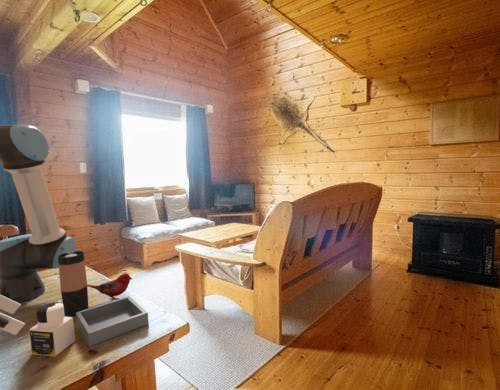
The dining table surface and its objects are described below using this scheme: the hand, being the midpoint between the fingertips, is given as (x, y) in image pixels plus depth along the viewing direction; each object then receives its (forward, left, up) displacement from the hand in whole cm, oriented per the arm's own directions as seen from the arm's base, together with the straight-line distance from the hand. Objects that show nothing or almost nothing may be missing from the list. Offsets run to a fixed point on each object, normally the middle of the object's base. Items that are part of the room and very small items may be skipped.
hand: (18, 318), depth 75 cm
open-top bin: (-1, +22, -11) cm, 25 cm away
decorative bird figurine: (-21, +27, -11) cm, 36 cm away
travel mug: (-20, +16, -11) cm, 28 cm away
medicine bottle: (-1, +7, -11) cm, 13 cm away
